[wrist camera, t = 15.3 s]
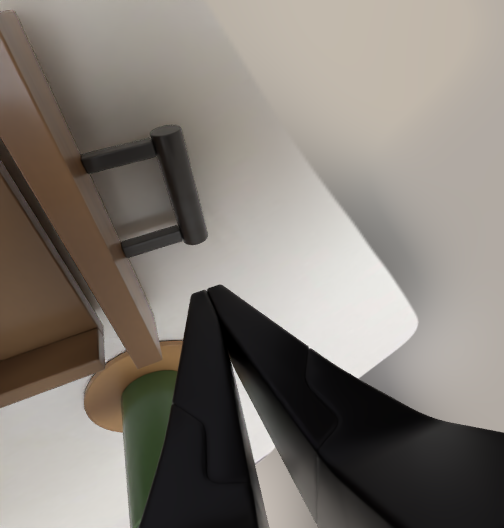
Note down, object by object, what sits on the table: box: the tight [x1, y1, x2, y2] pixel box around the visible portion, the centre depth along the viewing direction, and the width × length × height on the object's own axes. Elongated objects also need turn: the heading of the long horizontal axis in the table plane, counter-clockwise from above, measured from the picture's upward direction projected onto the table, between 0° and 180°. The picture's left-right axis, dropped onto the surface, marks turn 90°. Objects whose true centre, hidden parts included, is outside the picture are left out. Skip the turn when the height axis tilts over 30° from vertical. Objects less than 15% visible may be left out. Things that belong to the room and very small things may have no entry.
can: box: [121, 370, 177, 528], centre depth 20 cm, size 5×5×8 cm
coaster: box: [84, 341, 183, 432], centre depth 23 cm, size 9×9×1 cm
